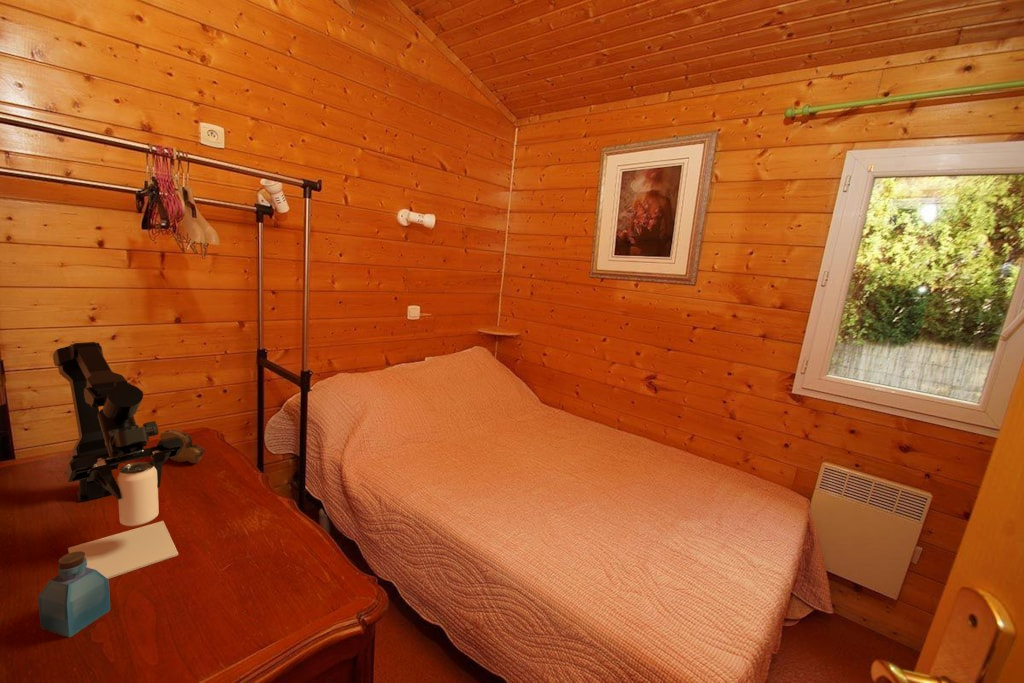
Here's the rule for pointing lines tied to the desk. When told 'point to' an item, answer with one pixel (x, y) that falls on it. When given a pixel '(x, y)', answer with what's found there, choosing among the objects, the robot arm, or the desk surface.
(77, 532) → the desk surface
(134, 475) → the can
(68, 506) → the desk surface
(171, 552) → the beige mat
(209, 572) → the desk surface
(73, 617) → the perfume bottle
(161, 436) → the wooden carving
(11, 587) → the desk surface
